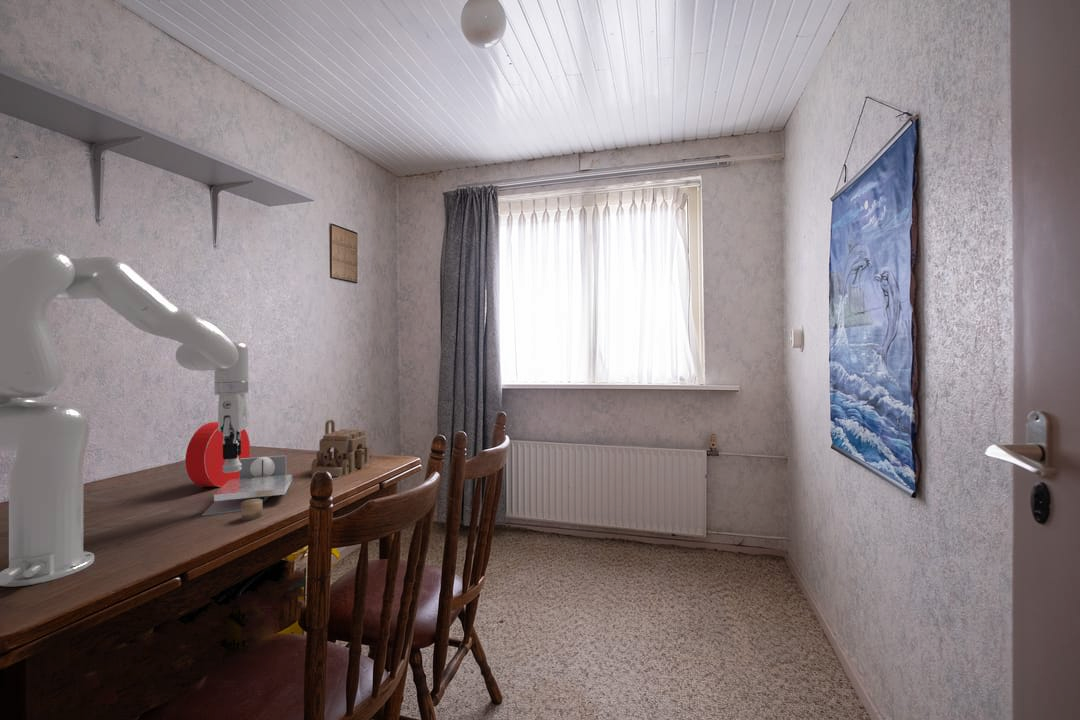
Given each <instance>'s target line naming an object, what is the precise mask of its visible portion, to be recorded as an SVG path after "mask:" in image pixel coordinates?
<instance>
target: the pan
mask: <svg viewBox="0 0 1080 720" xmlns="http://www.w3.org/2000/svg"><path fill="white" fill-rule="evenodd" d="M292 481H293V474H286V475H280V476H268V477H256V478H243V479H231V480H229V481H228V482H227V483H226V484H225V485H224V486H223V487H219V490H217V491H216V492H215V493H214V494H213V501H214V502H215V501H220V500H231V499H241V498H248V500H250V499H264V498H265V496H269V497H272V496H273V497H274V496H280V495H283V496H284V495H286V493H287V491H288V489H289V487H290V486H291V484H292Z"/></svg>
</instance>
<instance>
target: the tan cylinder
mask: <svg viewBox="0 0 1080 720" xmlns="http://www.w3.org/2000/svg"><path fill="white" fill-rule="evenodd" d="M263 503H264V502H263V500H262V499H250V500H246V501H243V502H242V503H241V511H240V512H241V513H240V514H241V521H244V522H245V521H247V522H248V521H255V520H257V519H260V518H262V517H263V511H264V509H263V508H264V507H263V505H264V504H263Z"/></svg>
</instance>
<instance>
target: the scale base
mask: <svg viewBox="0 0 1080 720" xmlns="http://www.w3.org/2000/svg"><path fill="white" fill-rule="evenodd" d="M239 461H240V463H241V464H242V465H241V466H240V467H241V468H242V469H241V470H240V471H239V479H243V478H256V477H268V476H280V475H287V455H273V456H272V455H271V456H258V457H249V458H240V459H239ZM269 497H270V496H265V498H264V499H262V500H263V503H264V502H265V501H267V499H268V498H269ZM246 500H248V498H241V499H231V500H220V501H214V502H213V503H212V504H211V505H210V506H209V507H208V508H207V509H206V510H204V512H203V513H202V515H201V516H202V517H207V516H212V515H219V514H228V513H235V512H241V503H242V502H243V501H246Z"/></svg>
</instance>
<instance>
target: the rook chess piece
mask: <svg viewBox="0 0 1080 720" xmlns="http://www.w3.org/2000/svg"><path fill="white" fill-rule="evenodd" d="M236 443H238V440H236ZM238 445H239V443H238ZM224 463H225V464H224V465H223V468H224V469H223V470H222V471H223V472H224V473H230V472H237V471H240V470H241V469H242V468H241V467H240V466H241V465H242V464H241V463H240V461H239V459H238V457H237V458H236V459H226V461H225V462H224Z"/></svg>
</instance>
